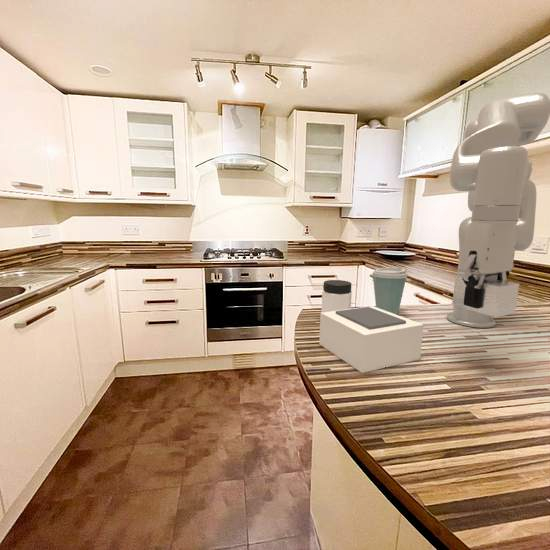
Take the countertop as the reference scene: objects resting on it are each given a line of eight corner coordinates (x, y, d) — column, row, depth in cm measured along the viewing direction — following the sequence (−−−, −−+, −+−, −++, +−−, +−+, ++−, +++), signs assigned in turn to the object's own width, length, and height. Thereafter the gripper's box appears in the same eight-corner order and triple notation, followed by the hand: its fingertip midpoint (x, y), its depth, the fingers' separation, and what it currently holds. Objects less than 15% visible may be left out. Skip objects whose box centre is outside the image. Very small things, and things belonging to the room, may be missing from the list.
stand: (370, 334, 83) (372, 303, 82) (420, 359, 69) (423, 321, 67) (319, 344, 77) (320, 310, 75) (362, 373, 62) (364, 332, 61)
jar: (326, 315, 100) (327, 278, 98) (352, 319, 96) (354, 281, 94) (318, 323, 92) (319, 283, 89) (346, 327, 88) (348, 286, 86)
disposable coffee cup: (382, 320, 96) (385, 272, 93) (363, 310, 106) (366, 266, 103) (411, 317, 98) (415, 270, 96) (390, 308, 109) (393, 265, 106)
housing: (470, 301, 69) (474, 268, 68) (514, 313, 61) (520, 276, 60) (452, 304, 67) (456, 270, 65) (495, 317, 59) (501, 279, 57)
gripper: (501, 214, 67) (490, 295, 71) (446, 215, 60) (437, 305, 64) (542, 215, 60) (527, 304, 64) (485, 216, 54) (472, 316, 57)
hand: (482, 303), depth 64 cm, fingers closed on housing, 6 cm apart
